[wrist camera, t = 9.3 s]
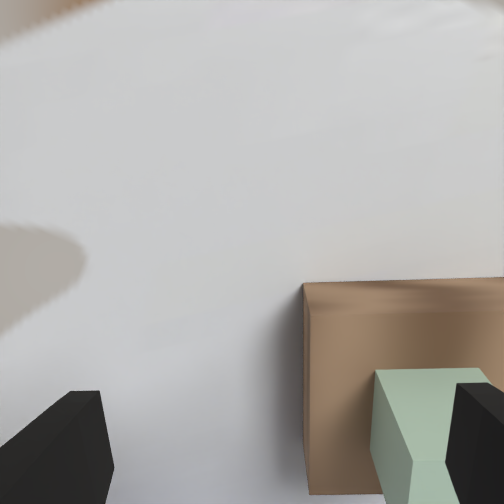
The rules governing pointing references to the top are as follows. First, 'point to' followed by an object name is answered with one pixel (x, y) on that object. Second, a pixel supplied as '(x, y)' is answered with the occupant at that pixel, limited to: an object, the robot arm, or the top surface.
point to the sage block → (415, 432)
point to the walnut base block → (384, 359)
